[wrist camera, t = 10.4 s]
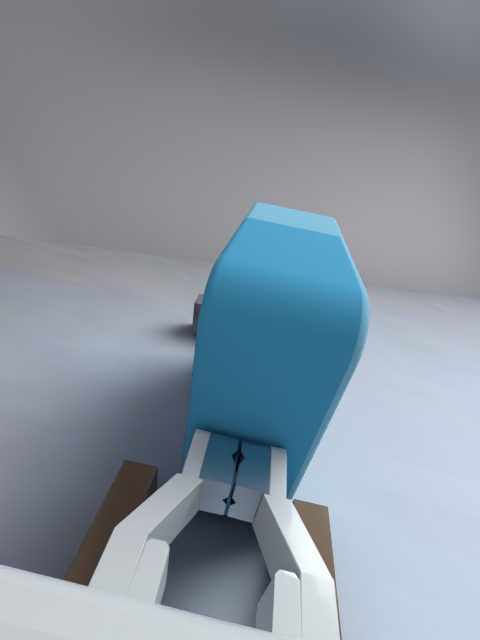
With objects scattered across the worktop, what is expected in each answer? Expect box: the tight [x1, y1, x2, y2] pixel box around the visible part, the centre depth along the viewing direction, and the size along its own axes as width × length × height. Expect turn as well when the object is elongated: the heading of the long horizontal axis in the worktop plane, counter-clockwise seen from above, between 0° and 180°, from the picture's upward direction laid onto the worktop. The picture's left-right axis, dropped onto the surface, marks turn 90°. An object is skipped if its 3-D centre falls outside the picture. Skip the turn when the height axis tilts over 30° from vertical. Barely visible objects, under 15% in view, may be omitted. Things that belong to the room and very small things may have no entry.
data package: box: [182, 202, 369, 515], centre depth 16 cm, size 12×4×12 cm, turn 170°
